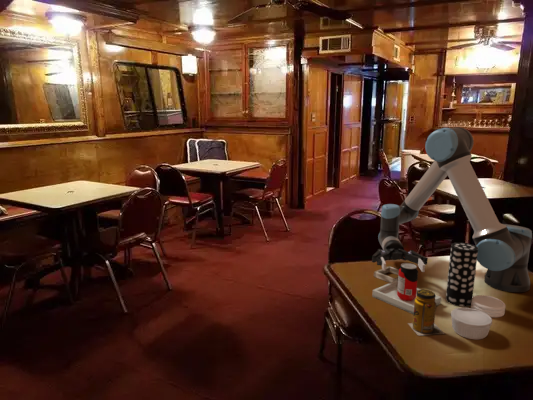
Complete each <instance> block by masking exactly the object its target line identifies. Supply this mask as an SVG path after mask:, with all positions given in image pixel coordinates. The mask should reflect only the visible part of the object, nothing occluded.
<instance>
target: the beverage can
mask: <svg viewBox="0 0 533 400" xmlns="http://www.w3.org/2000/svg"><path fill="white" fill-rule="evenodd" d="M398 269H399V275H397V277H398V289H397V295H398V297H399V298H400V299H402V300H405V301H412V300H413V299H415V298H416V292H417V288H418V279H419V270H418V265H416V264H415V263H412V262H411V263H409V262H403V263H401V264H400V267H399V268H398Z"/></svg>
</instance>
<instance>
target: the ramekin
mask: <svg viewBox="0 0 533 400" xmlns="http://www.w3.org/2000/svg"><path fill="white" fill-rule="evenodd" d="M450 317H451V328H452V329H453V330H454V333H456V334H457V335H459V336H460V337H463V338H466V339H469V340H483V339H484V338H486V337H487V336H488V335H489V332H490V329H491V326H492V325H493V318H492V317H490V316H489V315H487V314H486V313H484V312H481V311H479V310H475V309H472V308H471V307H470V308H469V307H456V308H454V309H452V310H451V311H450Z"/></svg>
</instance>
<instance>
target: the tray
mask: <svg viewBox="0 0 533 400" xmlns="http://www.w3.org/2000/svg"><path fill="white" fill-rule="evenodd" d="M397 289H398V281H397V280H395V281H393V282H391V283H389V282H387V283H386V284H384V285H381V286H380V287H376V288H374V289H372V295H371V297H372V298H373V299H374V298H375V299H377V300H379V301H381V302H384V303H386V304H388V305H390V306H393V307H395V308H397V309H399V310H400V309H401V310H403V311H405V312H407V313H409V314H412V315H414V303H415V299H416V298H415V299H413V300H412V301H405V300H402V299H400V298H399V297H398V295H397ZM418 290H422V289H421V288H419V287H417V291H418ZM416 296H417V292H416ZM441 301H442V297H441V296H440V295H437V294H435V302H436V307H437V306H439V305H440V304H441Z"/></svg>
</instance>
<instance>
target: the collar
mask: <svg viewBox="0 0 533 400" xmlns="http://www.w3.org/2000/svg"><path fill="white" fill-rule="evenodd" d="M387 273H391V274H394V275H397V277H392V276H389V275H387ZM398 275H399V268H396V267H392V266H390V265H389V266H386V269H385V271H383V269H382V268H379V269H378V270H375V271H373V277H374V278H377V279H379V280H381V281H385V282H387V283H391V282H393V281H395V280H397V281H398Z"/></svg>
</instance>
